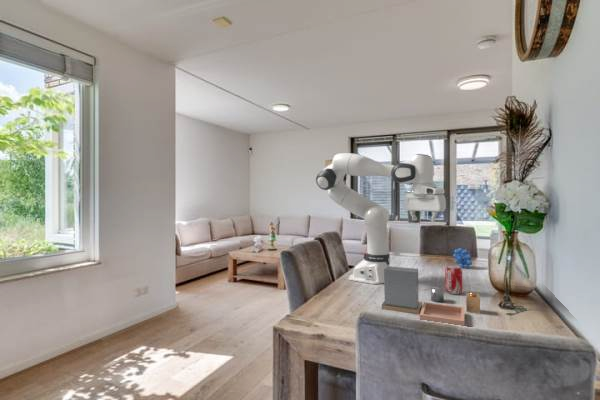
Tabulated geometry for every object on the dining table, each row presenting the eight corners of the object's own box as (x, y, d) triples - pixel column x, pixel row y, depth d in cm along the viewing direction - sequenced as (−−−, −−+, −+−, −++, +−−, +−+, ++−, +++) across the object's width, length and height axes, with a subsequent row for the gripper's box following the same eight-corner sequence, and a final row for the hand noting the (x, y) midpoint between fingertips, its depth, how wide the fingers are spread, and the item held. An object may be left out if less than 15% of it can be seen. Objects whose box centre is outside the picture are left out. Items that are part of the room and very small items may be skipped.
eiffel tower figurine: (510, 317, 113) (509, 281, 113) (483, 308, 122) (482, 274, 122) (533, 309, 120) (532, 275, 120) (506, 302, 129) (505, 270, 129)
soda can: (441, 291, 143) (441, 265, 143) (453, 289, 145) (452, 264, 145) (455, 296, 136) (454, 268, 136) (466, 293, 139) (466, 267, 139)
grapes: (449, 267, 190) (448, 247, 190) (456, 265, 193) (455, 246, 193) (467, 270, 180) (467, 250, 180) (474, 269, 183) (474, 248, 183)
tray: (419, 321, 110) (419, 314, 110) (424, 308, 122) (424, 302, 122) (464, 328, 104) (464, 321, 103) (464, 314, 116) (464, 307, 116)
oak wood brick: (466, 312, 118) (466, 293, 118) (466, 308, 122) (466, 290, 122) (480, 313, 116) (479, 295, 116) (479, 309, 120) (479, 291, 120)
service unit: (381, 308, 123) (380, 269, 123) (387, 300, 132) (386, 264, 132) (419, 314, 117) (418, 273, 116) (422, 305, 126) (421, 267, 125)
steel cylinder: (430, 301, 130) (430, 289, 130) (431, 298, 135) (431, 286, 135) (443, 303, 128) (443, 291, 128) (444, 299, 132) (444, 287, 132)
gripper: (400, 190, 147) (400, 220, 147) (438, 189, 129) (438, 223, 129) (409, 190, 150) (409, 219, 150) (448, 189, 132) (448, 222, 132)
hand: (423, 221), depth 140 cm, fingers open, 8 cm apart
